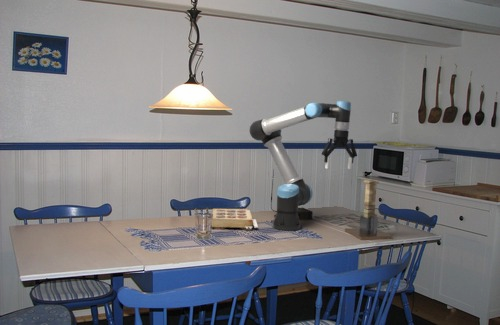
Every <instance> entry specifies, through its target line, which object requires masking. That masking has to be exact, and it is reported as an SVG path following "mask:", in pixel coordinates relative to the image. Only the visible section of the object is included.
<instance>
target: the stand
mask: <svg viewBox="0 0 500 325" xmlns="http://www.w3.org/2000/svg"><path fill="white" fill-rule="evenodd" d="M371 214H372V215H374V216H373V217H372V218H367V217H365V216H364V214H362V215H361V214H360V217H359V227H357V228H356V227H355V228H351V227H350V228H344V232H345V233H348V234H349V235H351V236H353V237H355V238H356V239H359V240H361V241H369V240H370V241H371V240H388V239H389V240H390V239H391V238H392V239H393V235H392V234H390V233H388V232H385V231H382V230H381V229H378V220H379V218H378V214H377V213H376V212H375V213H371ZM392 239H391V240H392Z"/></svg>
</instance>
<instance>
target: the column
mask: <svg viewBox="0 0 500 325" xmlns="http://www.w3.org/2000/svg"><path fill="white" fill-rule="evenodd" d="M363 183H364V184H365V194H364V204H363V205H364V207H363V209H364V210H363V215H364V216H365V217H367V218H372V217H373V216H374V215H372V214H371V213H375V214H376V198H377V197H376V196H377V185H378V184H380V182H379V180H374V179H363Z"/></svg>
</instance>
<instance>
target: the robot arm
mask: <svg viewBox="0 0 500 325" xmlns="http://www.w3.org/2000/svg"><path fill="white" fill-rule="evenodd" d="M351 107H352V103H351V102H350V101H346V100H344V101H343V100H337V101H336V103H335V104H334V103H324V102H323V103H322V102H310V103H308V104H307V105H305V106H302V107H300V108H297V109H294V110H291V111H288V112H285V113H282V114H279V115H277V116H273V117H271V118H262V119H258V120H255V121H253V122H252V123H251V125H250V126H249V135H250V136H251V138H252V139H254V140H255V141H259V142H262V144H263V147H266V148H268V151H269V153H270V155H271V157H272V158H273V161H274V164H275V165H276V166H277V168H278V171H279V173H280V175H281V177H282V179H283V181H284V183H285V184H281V185H279V186H277V191H276V196H277V197H276V211H277V212H276V213H275V215H276V216H274V219H273V222H272V228H273V229H276V230H279V231H280V230H281V231H297V230H300V229H301V222H300V221H301V220H299V217H298V208H299V207H300V206H304V205H306V204H308V203H309V202H311V200H312V198H313V189H312V187H311V186H310V185H309V184H307V183H305V180H304V178H302V177H300V176H299V174H298V172H297V171H296V169H295V166H294V164H293V162H292V161H291V159H290V156H289V154H288V152H287V151H286V149H285V146H284V144H283V142H282V139H283V137H282V130H283V129H286V128H289V127H293V126H295V125H298V124H300V123H305V122H307V121H310V120H314V119H316V118H317V119H318V118H326V119H327V118H329V119H330V118H331V119H335V123H334V129H335V130H334V131H333V132H334V133H333V138H332V137H328V139H327V142H326V145H325V146H324V148H323V150H322V152H321V155H322V156H324V164H325V166H324V168H325V169H326V170H329V168H330V155H331V154H332V153H333V151H335V149H337V148H343V149H345V151H346V153H347V154H348V155H349V156H348V159H347V160H348V161H347V162H348V163H347V170H352V167H353V166H352V164H353V163H354V158H355V157H358V153H357V150H356V147H355V145H354V140H353V139H352V138H350V139H349V129H350V120H351V111H352V108H351ZM348 145H349V146H348Z"/></svg>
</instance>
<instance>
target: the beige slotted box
mask: <svg viewBox="0 0 500 325" xmlns="http://www.w3.org/2000/svg"><path fill="white" fill-rule="evenodd" d="M212 214H213V217H212V216H211V230H215V231H216V230H219V231H220V230H221V231H222V230H225V229H227V228H229V229H230V228H231V229H234V228H239V229H240V230H244V231H253V228H254V229H258V228H259V226H258V223H257V219H256V218H255V219H253V216H252V213H251V210H250V208H249V209H246V208H245V209H244V208H212V209H211V215H212Z"/></svg>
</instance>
